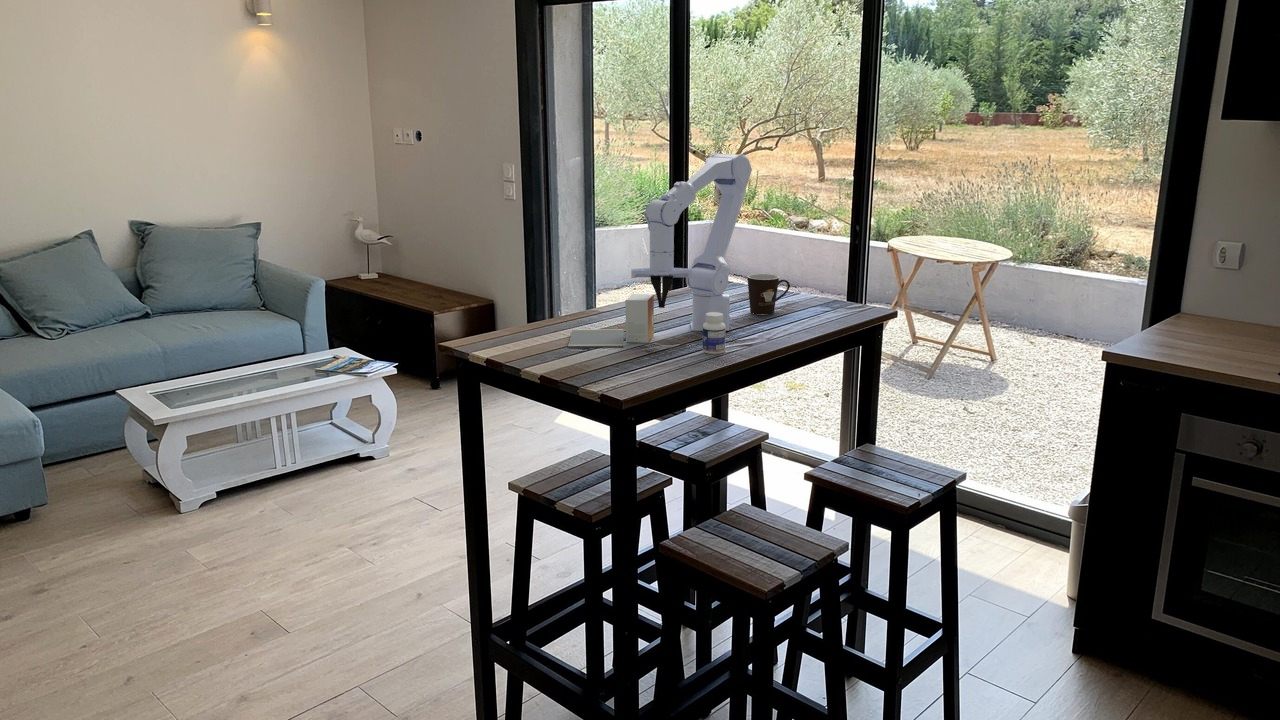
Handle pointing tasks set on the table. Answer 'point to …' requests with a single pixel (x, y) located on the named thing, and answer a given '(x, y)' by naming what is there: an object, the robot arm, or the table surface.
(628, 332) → the small box
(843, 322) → the table surface
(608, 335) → the mat
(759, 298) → the coffee mug
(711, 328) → the pill bottle
